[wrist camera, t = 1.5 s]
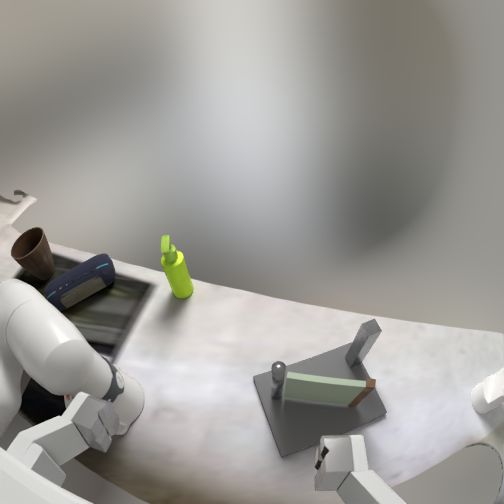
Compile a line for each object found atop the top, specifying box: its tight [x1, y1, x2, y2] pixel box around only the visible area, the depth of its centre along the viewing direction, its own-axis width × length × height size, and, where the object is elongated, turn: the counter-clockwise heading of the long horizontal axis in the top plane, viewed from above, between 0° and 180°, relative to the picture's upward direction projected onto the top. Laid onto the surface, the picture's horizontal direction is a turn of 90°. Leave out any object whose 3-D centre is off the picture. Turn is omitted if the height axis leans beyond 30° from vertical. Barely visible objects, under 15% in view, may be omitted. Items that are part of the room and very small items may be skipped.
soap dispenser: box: [161, 235, 193, 298], centre depth 75 cm, size 6×7×20 cm
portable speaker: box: [44, 254, 115, 311], centre depth 79 cm, size 25×10×10 cm, turn 126°
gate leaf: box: [284, 372, 376, 407], centre depth 52 cm, size 16×2×14 cm, turn 77°
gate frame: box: [253, 319, 387, 457], centre depth 53 cm, size 25×20×18 cm
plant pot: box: [11, 227, 55, 281], centre depth 83 cm, size 15×15×16 cm
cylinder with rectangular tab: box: [471, 367, 504, 414], centre depth 47 cm, size 9×9×12 cm
